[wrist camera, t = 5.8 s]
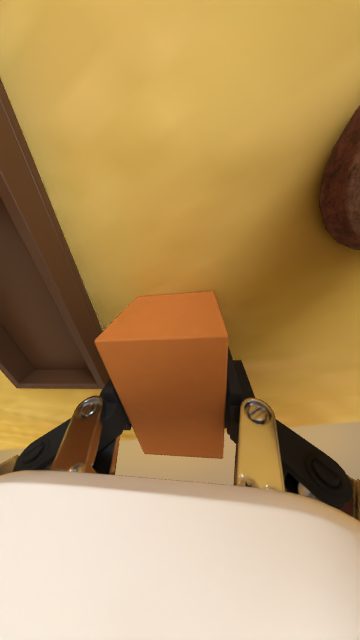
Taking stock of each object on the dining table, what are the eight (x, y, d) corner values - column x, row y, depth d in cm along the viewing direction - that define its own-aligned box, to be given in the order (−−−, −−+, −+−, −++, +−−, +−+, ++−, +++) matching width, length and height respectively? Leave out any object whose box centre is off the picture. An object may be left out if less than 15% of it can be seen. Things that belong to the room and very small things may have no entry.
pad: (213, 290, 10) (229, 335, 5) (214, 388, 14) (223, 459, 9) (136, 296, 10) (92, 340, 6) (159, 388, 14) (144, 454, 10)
